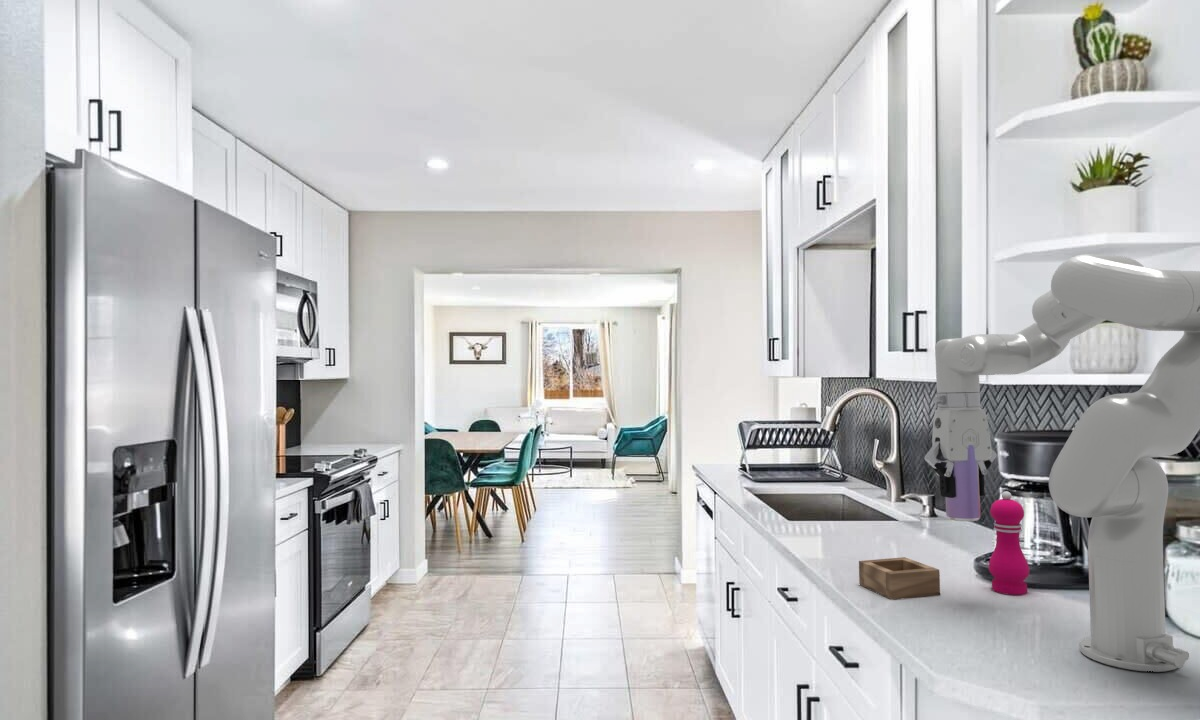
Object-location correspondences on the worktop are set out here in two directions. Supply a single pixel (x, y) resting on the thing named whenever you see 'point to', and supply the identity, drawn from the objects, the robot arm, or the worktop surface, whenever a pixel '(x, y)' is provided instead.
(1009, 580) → the pepper mill
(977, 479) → the beverage can
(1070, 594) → the worktop surface
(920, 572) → the holder
